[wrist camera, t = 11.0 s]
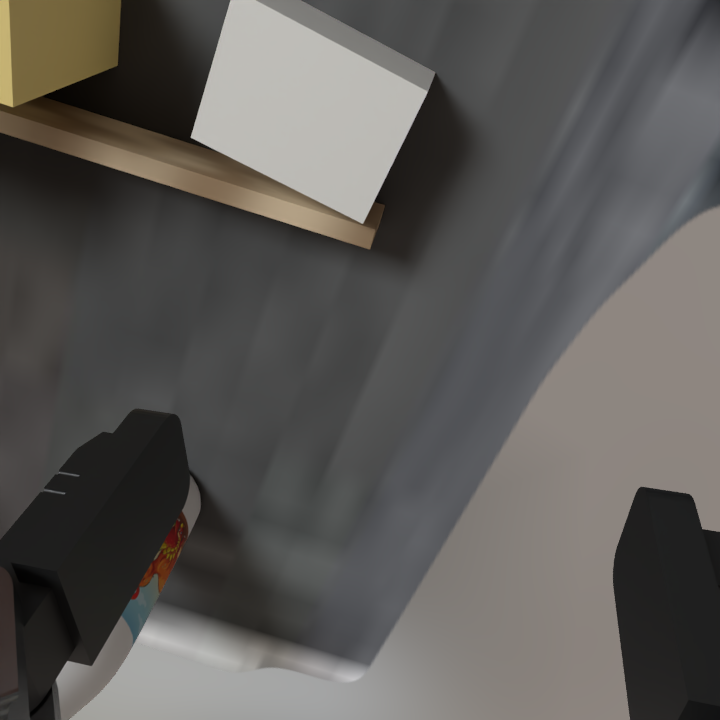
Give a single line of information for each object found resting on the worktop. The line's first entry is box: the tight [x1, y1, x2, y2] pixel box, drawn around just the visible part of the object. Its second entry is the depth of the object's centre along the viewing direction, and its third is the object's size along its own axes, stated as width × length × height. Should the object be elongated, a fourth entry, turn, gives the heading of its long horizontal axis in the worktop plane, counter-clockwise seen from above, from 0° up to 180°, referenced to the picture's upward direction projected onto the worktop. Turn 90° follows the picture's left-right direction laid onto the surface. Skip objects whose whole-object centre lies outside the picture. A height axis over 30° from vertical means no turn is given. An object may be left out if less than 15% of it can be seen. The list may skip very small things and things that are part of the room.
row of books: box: [0, 96, 385, 249], centre depth 26 cm, size 30×8×10 cm, turn 75°
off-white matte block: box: [191, 0, 435, 224], centre depth 28 cm, size 8×6×4 cm
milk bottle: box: [56, 475, 201, 720], centre depth 38 cm, size 8×8×20 cm
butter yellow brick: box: [0, 0, 121, 107], centre depth 26 cm, size 4×5×8 cm
